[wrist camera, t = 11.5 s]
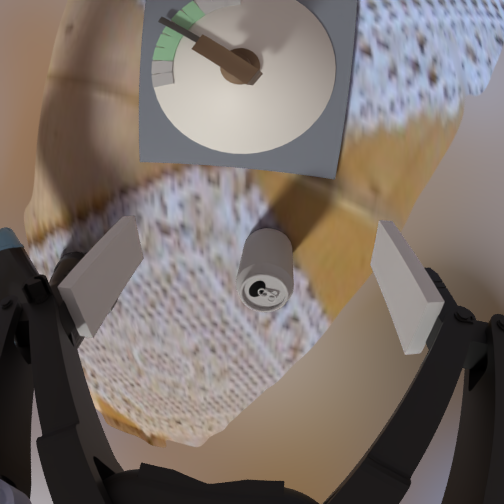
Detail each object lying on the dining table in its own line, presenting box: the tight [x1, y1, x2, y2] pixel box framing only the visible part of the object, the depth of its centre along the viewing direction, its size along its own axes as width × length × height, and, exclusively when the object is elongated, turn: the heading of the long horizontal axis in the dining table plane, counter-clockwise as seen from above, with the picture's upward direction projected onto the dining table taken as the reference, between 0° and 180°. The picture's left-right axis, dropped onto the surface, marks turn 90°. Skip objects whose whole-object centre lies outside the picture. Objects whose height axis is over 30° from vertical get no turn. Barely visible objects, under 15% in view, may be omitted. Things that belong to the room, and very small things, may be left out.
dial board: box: [139, 0, 357, 179], centre depth 33 cm, size 28×28×2 cm
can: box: [236, 228, 294, 312], centre depth 43 cm, size 8×8×12 cm
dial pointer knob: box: [158, 16, 263, 85], centre depth 27 cm, size 5×16×11 cm, turn 53°
